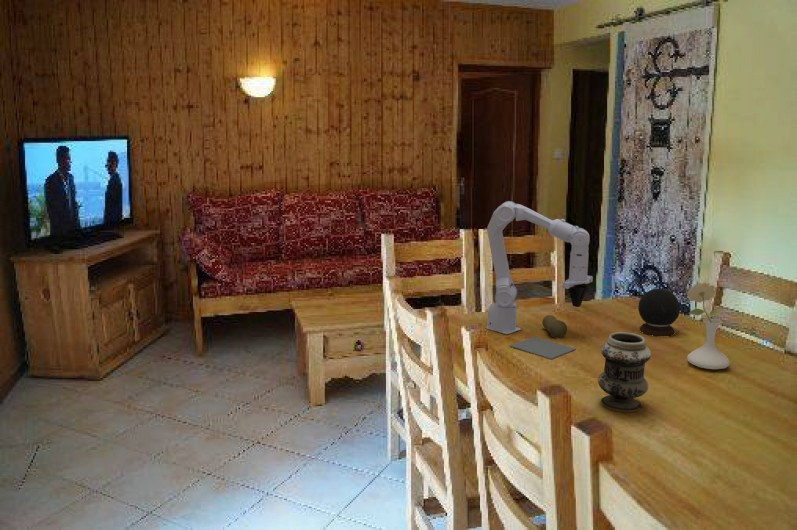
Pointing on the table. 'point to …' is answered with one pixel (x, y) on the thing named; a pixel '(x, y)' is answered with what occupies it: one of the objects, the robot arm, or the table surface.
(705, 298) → the flower in vase
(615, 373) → the apothecary jar
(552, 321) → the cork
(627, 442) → the table surface
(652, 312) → the black ball on stand
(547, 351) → the topple mat
